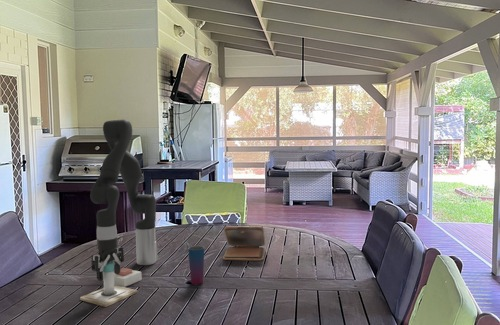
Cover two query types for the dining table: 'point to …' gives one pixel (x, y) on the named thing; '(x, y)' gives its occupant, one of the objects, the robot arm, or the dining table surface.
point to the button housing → (127, 278)
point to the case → (245, 243)
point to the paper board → (108, 296)
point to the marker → (108, 278)
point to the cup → (196, 264)
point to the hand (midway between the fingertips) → (108, 277)
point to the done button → (125, 271)
